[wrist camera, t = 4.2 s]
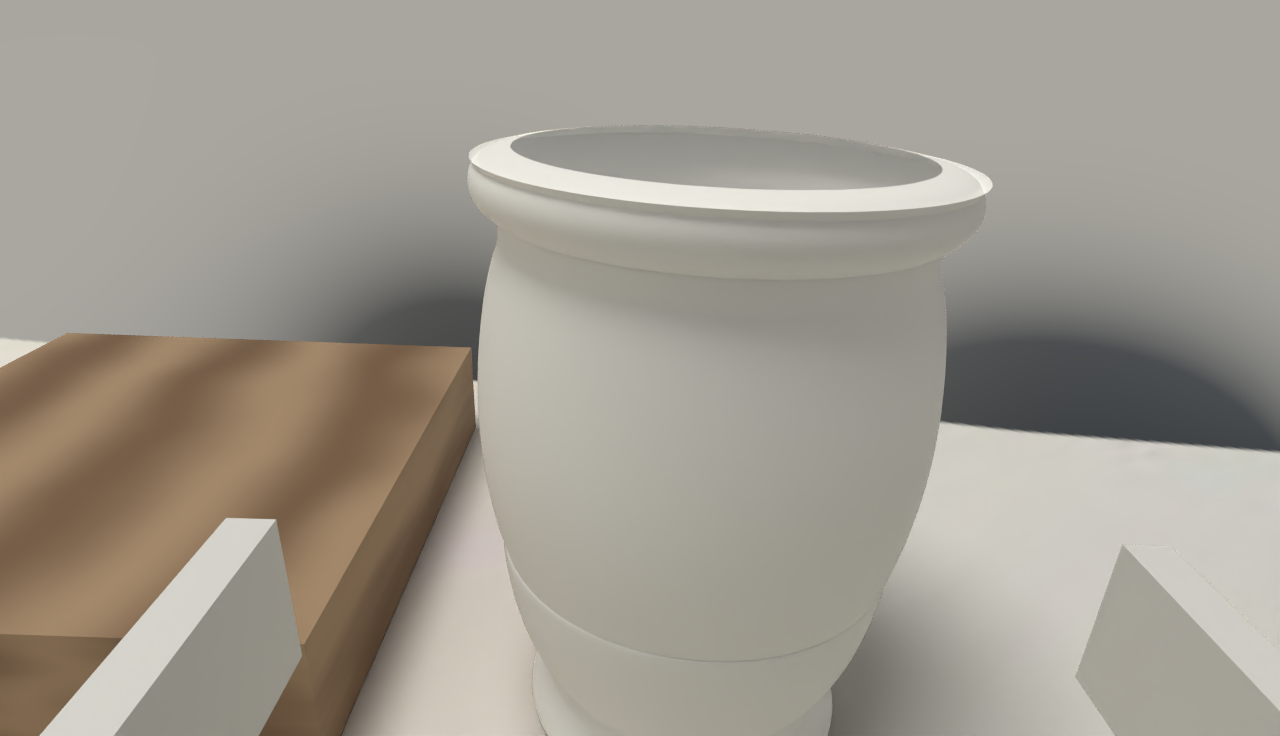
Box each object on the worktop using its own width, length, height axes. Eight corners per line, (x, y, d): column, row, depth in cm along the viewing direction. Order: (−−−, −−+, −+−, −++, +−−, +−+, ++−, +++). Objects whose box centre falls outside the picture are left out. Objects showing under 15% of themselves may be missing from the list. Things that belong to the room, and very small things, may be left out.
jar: (920, 664, 23) (1044, 155, 17) (759, 973, 15) (883, 238, 9) (637, 531, 29) (654, 113, 22) (414, 708, 21) (349, 143, 15)
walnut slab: (475, 426, 36) (470, 347, 34) (327, 765, 19) (304, 644, 17) (90, 412, 35) (67, 333, 34) (-394, 742, 19) (-484, 617, 17)
